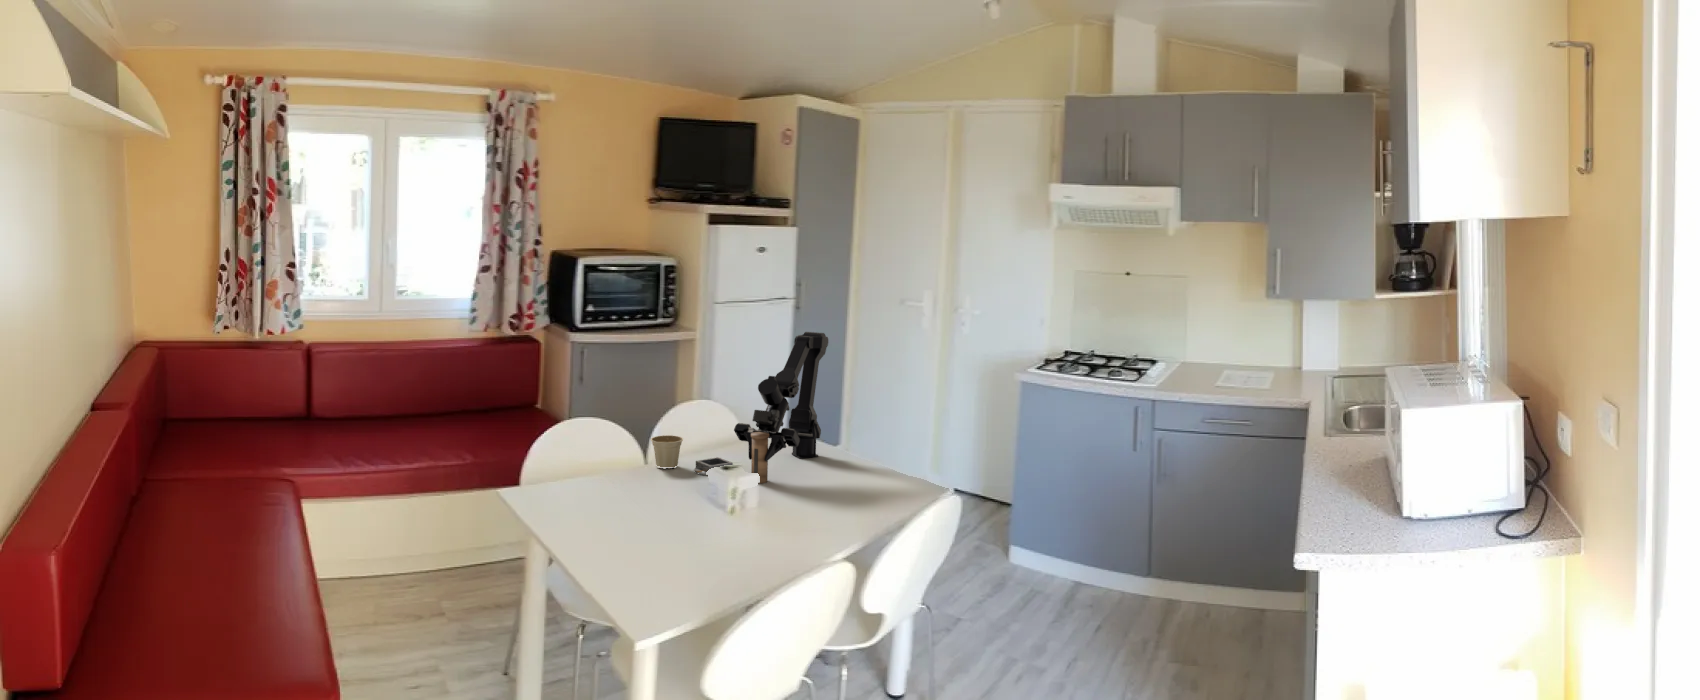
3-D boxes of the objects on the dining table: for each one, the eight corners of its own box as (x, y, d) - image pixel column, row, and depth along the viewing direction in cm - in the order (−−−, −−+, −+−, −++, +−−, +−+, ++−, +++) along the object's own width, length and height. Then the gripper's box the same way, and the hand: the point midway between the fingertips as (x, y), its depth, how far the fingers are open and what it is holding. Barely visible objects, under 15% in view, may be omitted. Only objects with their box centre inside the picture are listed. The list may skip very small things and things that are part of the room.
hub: (720, 464, 310) (720, 455, 310) (741, 472, 301) (741, 463, 301) (686, 469, 303) (686, 460, 302) (707, 478, 294) (707, 468, 294)
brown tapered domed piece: (755, 478, 296) (755, 431, 294) (771, 480, 294) (772, 433, 292) (747, 482, 291) (747, 434, 289) (763, 484, 289) (764, 436, 287)
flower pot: (679, 471, 300) (679, 442, 299) (647, 470, 300) (647, 441, 299) (685, 463, 310) (685, 435, 308) (654, 462, 310) (654, 434, 309)
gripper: (737, 395, 296) (718, 440, 287) (796, 401, 289) (779, 447, 281) (748, 417, 304) (731, 461, 296) (806, 423, 298) (790, 469, 289)
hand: (757, 459), depth 290 cm, fingers closed on brown tapered domed piece, 5 cm apart
